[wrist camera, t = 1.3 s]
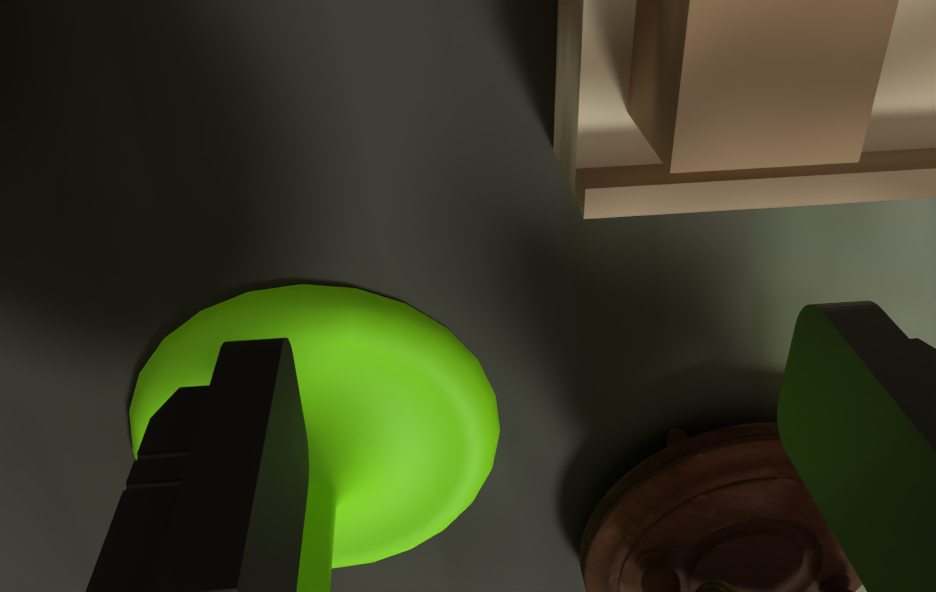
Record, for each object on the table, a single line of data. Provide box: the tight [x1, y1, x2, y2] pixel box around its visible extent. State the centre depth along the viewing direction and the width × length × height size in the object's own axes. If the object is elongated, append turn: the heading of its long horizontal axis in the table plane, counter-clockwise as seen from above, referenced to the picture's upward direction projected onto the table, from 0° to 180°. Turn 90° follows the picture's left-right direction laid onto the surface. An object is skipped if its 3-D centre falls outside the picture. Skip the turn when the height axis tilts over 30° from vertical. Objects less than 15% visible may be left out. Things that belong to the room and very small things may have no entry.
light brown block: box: [627, 0, 899, 173], centre depth 22 cm, size 5×5×4 cm
